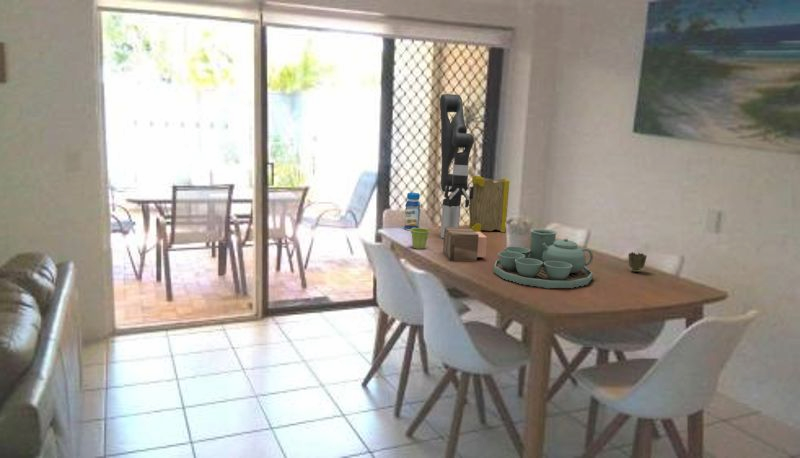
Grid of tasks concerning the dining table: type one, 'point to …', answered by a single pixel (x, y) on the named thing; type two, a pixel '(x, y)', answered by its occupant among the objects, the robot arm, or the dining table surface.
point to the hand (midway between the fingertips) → (458, 207)
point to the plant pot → (419, 237)
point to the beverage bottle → (412, 211)
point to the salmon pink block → (481, 245)
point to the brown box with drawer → (460, 244)
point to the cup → (637, 261)
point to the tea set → (545, 262)
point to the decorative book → (488, 204)
